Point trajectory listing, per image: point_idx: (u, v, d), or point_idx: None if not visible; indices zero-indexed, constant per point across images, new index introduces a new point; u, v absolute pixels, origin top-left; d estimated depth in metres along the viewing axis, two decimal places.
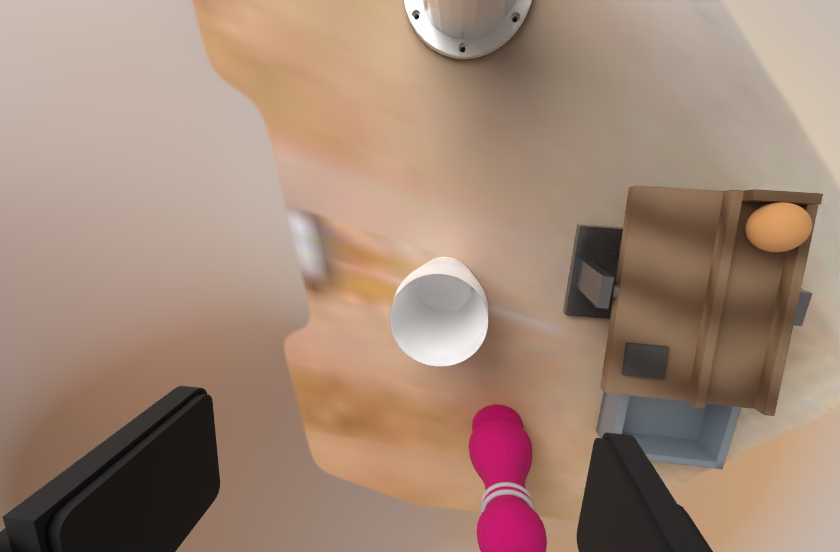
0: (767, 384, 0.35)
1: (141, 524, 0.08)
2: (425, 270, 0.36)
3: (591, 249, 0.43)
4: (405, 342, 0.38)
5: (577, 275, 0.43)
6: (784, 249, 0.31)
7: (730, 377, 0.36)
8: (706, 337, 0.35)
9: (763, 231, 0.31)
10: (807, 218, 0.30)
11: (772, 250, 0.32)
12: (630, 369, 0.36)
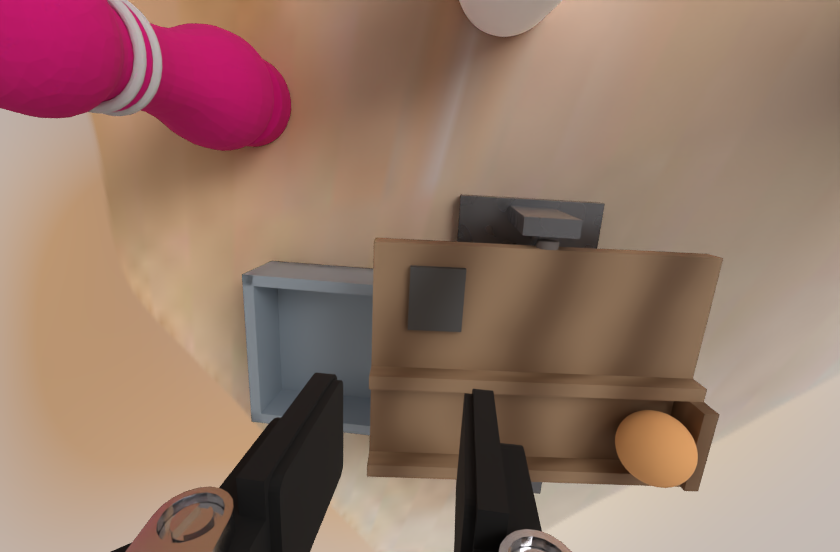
0: (412, 462, 0.24)
1: (310, 492, 0.09)
2: None
3: None
4: None
5: (526, 206, 0.28)
6: (633, 460, 0.21)
7: (414, 417, 0.24)
8: (484, 380, 0.22)
9: (663, 433, 0.21)
10: (683, 481, 0.21)
11: (627, 446, 0.22)
12: (421, 277, 0.21)
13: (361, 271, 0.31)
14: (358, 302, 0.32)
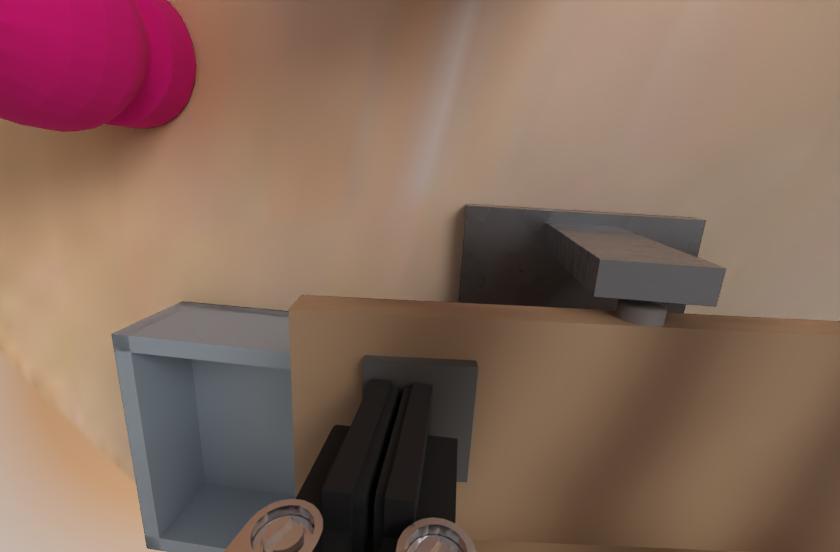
0: None
1: None
2: None
3: None
4: None
5: (575, 225, 0.17)
6: None
7: None
8: None
9: None
10: None
11: None
12: None
13: None
14: None
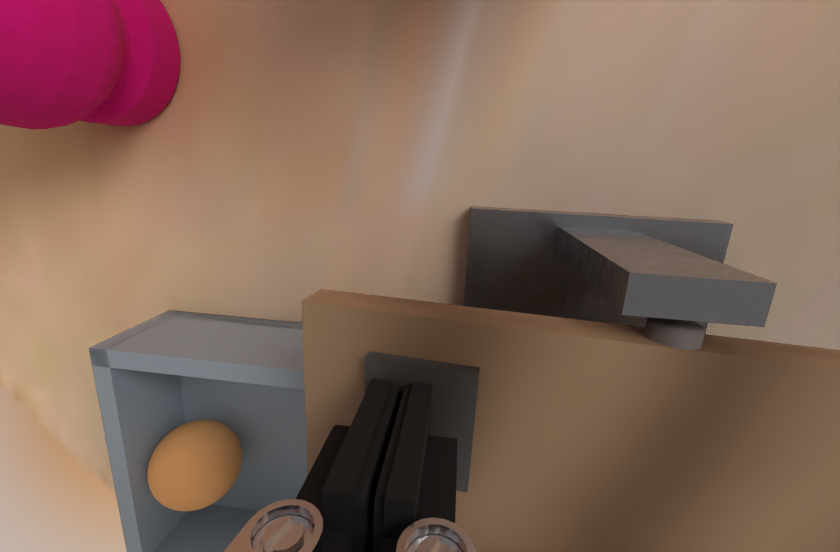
0: None
1: None
2: None
3: None
4: None
5: (590, 229, 0.16)
6: (149, 486, 0.18)
7: None
8: None
9: (176, 450, 0.18)
10: (208, 500, 0.18)
11: (148, 470, 0.18)
12: None
13: None
14: None
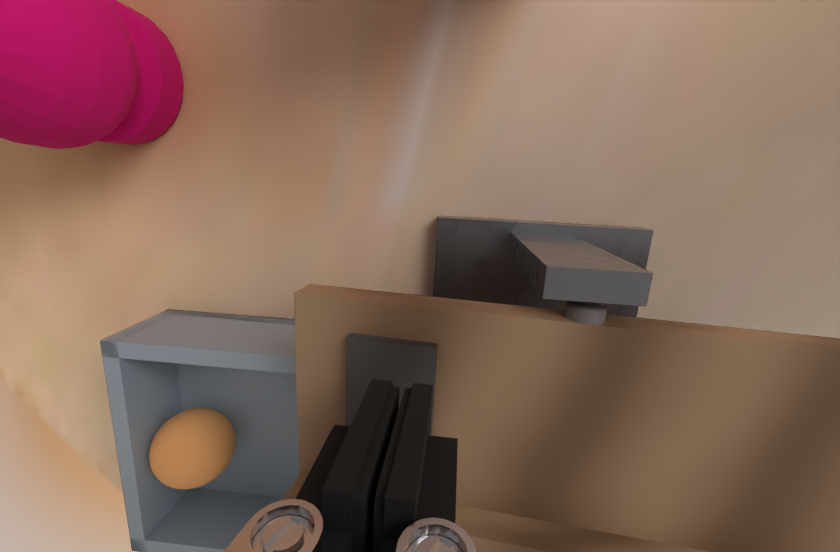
0: None
1: None
2: None
3: None
4: None
5: (537, 235, 0.18)
6: (151, 467, 0.20)
7: None
8: None
9: (176, 433, 0.20)
10: (205, 479, 0.20)
11: (149, 452, 0.20)
12: (363, 355, 0.13)
13: (294, 327, 0.21)
14: None
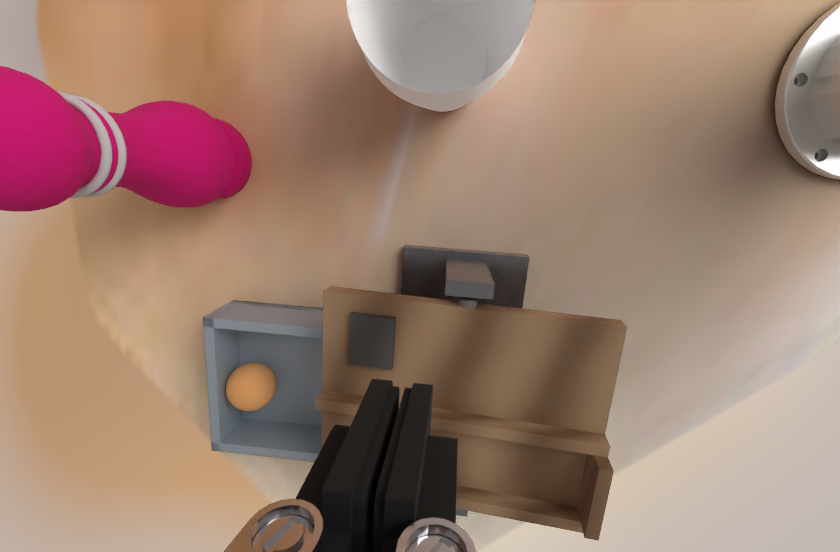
0: None
1: None
2: None
3: (496, 273, 0.32)
4: None
5: (461, 259, 0.32)
6: (228, 395, 0.33)
7: None
8: None
9: (244, 375, 0.33)
10: (260, 404, 0.33)
11: (226, 387, 0.33)
12: (358, 322, 0.26)
13: (315, 312, 0.34)
14: (313, 339, 0.35)
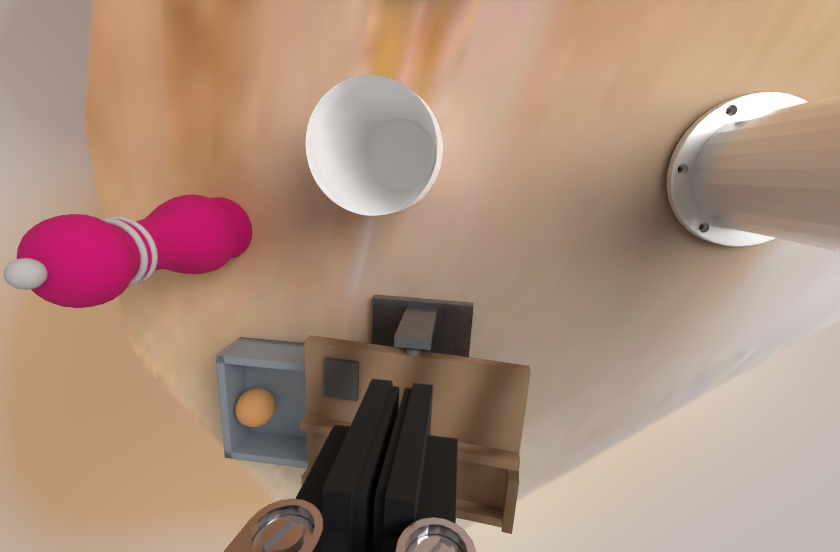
0: None
1: None
2: (437, 128, 0.26)
3: (447, 318, 0.40)
4: (331, 101, 0.27)
5: (418, 307, 0.39)
6: (237, 415, 0.41)
7: None
8: None
9: (249, 399, 0.41)
10: (262, 421, 0.41)
11: (235, 408, 0.41)
12: (330, 365, 0.34)
13: (304, 348, 0.42)
14: None
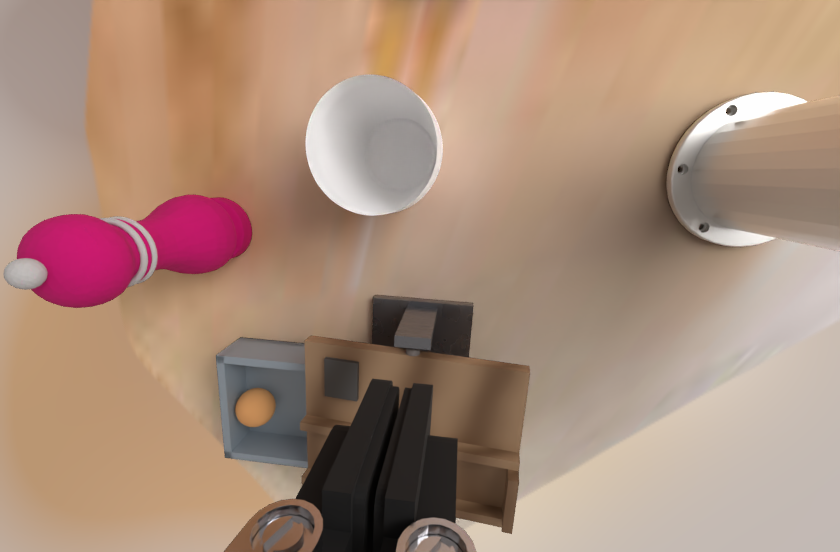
0: None
1: None
2: (437, 127, 0.26)
3: (447, 318, 0.40)
4: (331, 101, 0.27)
5: (418, 307, 0.39)
6: (237, 415, 0.41)
7: None
8: None
9: (249, 399, 0.41)
10: (263, 421, 0.42)
11: (236, 409, 0.41)
12: (330, 365, 0.34)
13: (304, 348, 0.42)
14: None
